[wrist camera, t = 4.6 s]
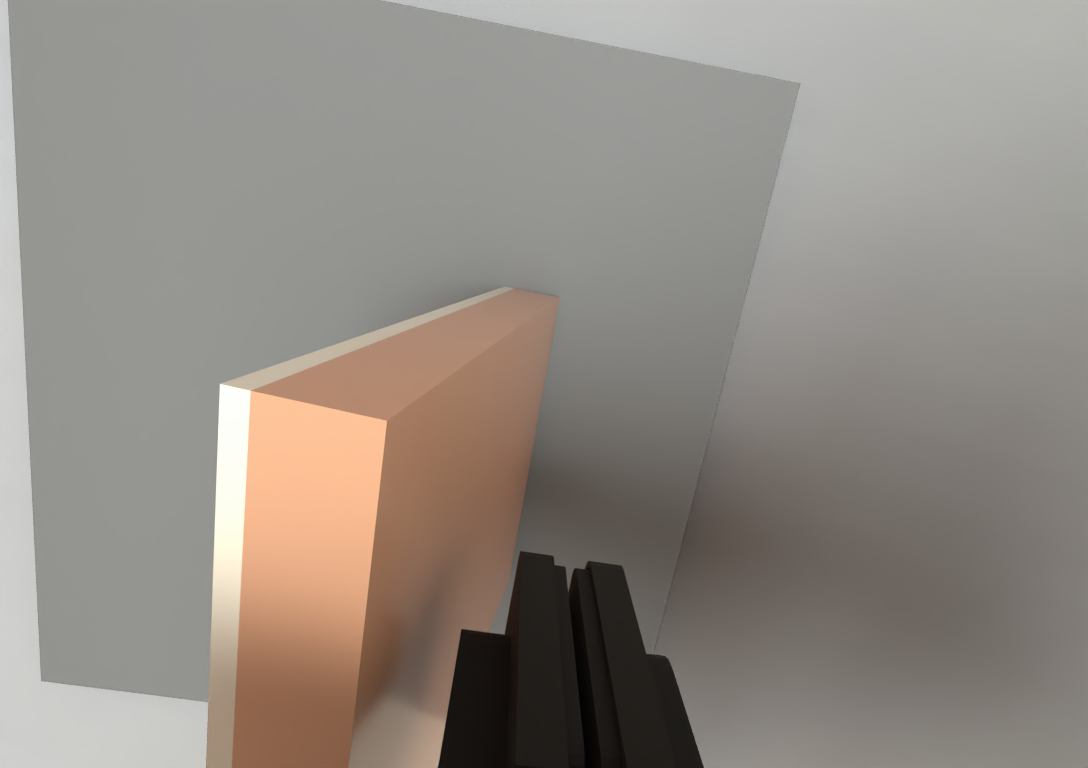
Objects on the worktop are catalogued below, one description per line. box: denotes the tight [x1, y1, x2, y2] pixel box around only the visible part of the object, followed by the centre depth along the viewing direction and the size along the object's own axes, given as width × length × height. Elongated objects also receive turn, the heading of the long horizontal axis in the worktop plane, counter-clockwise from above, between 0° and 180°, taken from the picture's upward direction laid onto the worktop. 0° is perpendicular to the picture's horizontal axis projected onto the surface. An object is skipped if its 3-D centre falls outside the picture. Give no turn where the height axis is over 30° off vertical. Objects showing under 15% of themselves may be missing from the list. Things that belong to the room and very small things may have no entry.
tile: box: [206, 287, 560, 768], centre depth 12 cm, size 2×9×12 cm, turn 171°
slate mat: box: [8, 0, 800, 702], centre depth 18 cm, size 20×22×1 cm
